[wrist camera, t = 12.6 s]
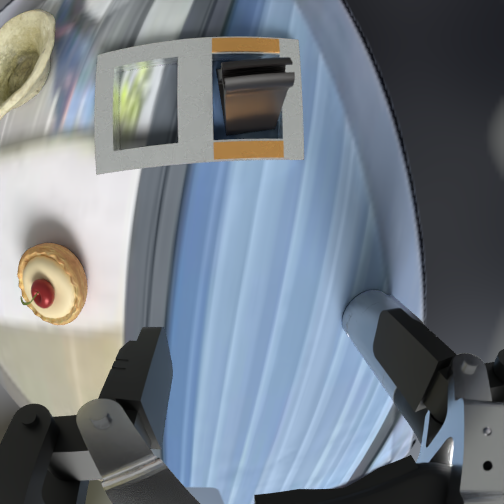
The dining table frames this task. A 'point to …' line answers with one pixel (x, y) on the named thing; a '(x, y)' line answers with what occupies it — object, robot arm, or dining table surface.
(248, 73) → the phone stand
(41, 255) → the pastry
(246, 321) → the dining table surface
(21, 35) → the bowl
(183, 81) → the white slotted tray
